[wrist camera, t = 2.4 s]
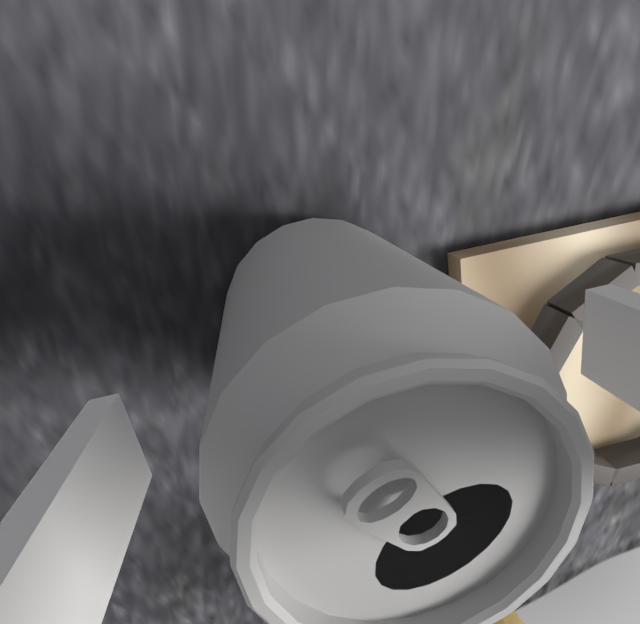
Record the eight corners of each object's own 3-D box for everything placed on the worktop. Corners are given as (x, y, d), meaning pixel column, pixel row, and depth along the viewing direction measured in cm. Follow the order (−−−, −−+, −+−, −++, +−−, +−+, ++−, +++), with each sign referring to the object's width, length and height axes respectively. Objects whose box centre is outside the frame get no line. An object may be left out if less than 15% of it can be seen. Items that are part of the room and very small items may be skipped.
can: (306, 410, 19) (381, 744, 8) (187, 298, 17) (62, 569, 6) (431, 308, 19) (702, 524, 7) (328, 174, 16) (510, 198, 5)
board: (462, 497, 23) (489, 538, 20) (447, 253, 18) (479, 267, 15) (719, 428, 24) (773, 458, 22) (771, 183, 19) (850, 185, 17)
